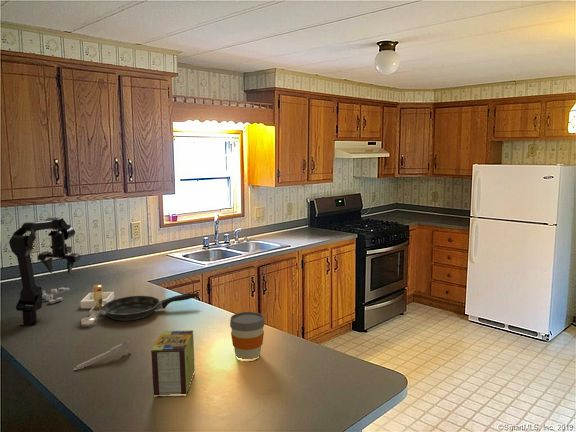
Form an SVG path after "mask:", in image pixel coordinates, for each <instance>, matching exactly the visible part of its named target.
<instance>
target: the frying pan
mask: <svg viewBox="0 0 576 432" xmlns="http://www.w3.org/2000/svg"><path fill="white" fill-rule="evenodd" d="M199 296H200V294H199V293H198V292H195V293H183V294H178V295H175V296H171V297H168V298H166V299H163V300H161V301H160V300H159V299H158V297H154V296H150V295H130V296H124V297H120V298H116V299H113V301H110V302H108V303H106V304H105V305H104V306H103V311H105V312H106V314H105V315H106V316H108V317H109V318H111V319H113V320H116V321H125V322H127V321H136V320H140V318H141V319H143V318H146V317H148V316H150V315H151V314H153V313H154V312H155V311H158V310H162V309H166V307H167V306H168V305H169V304H171V303H173V302H182V301H186V300H190V299H194V298H197V297H199Z"/></svg>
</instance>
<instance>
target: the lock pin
mask: <svg viewBox="0 0 576 432" xmlns="http://www.w3.org/2000/svg"><path fill="white" fill-rule="evenodd" d="M103 292H104V291H103V285H102V284H95V285H93V286H92V293H93V297H94V311H97V310H103Z"/></svg>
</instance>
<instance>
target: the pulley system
mask: <svg viewBox="0 0 576 432" xmlns="http://www.w3.org/2000/svg"><path fill="white" fill-rule="evenodd" d="M69 291H70V287H59V288H58V289H57V287H55V288H51V289H50V293H46V290H43V289H42V294H43V295H42V297H43V300H45V301H47V302H48V303H49V304H52V305H53V304H55V303H57V302H61V301H63V297H62V296H61V297H59V296H57V295H60V294H63V293H66V292H69Z"/></svg>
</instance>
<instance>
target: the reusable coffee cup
mask: <svg viewBox="0 0 576 432" xmlns="http://www.w3.org/2000/svg"><path fill="white" fill-rule="evenodd" d="M265 324H266V323H265V317H264V315H263V314H262V313H259V312H256V311H255V312H254V311H243V312H237V313H234V314H232V315H231V316H230V322H229V326H230V328H231V331H230V336H231V341H232V346H233V347H234V354H235V357H236V356H237V357H238V358H242V359H253V358H257V357H258V356H259V355H260V356H261V352H262V346H263V344H264V333H265V331H264V327H265Z"/></svg>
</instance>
